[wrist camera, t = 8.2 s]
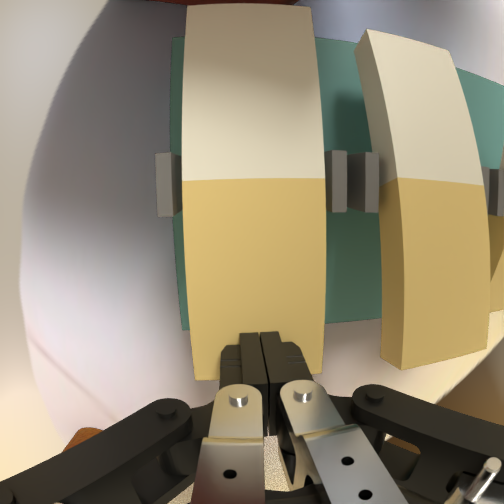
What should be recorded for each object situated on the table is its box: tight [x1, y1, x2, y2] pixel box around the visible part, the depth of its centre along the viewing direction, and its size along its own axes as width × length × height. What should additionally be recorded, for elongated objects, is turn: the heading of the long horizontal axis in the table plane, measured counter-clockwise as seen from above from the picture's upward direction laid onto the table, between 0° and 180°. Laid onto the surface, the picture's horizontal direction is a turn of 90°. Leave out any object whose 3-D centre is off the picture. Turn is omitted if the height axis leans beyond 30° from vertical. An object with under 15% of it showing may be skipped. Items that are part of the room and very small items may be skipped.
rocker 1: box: [182, 3, 326, 380], centre depth 12 cm, size 15×5×2 cm, turn 1°
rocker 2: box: [354, 29, 490, 370], centre depth 12 cm, size 15×5×2 cm, turn 1°
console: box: [155, 37, 504, 330], centre depth 17 cm, size 17×24×10 cm
